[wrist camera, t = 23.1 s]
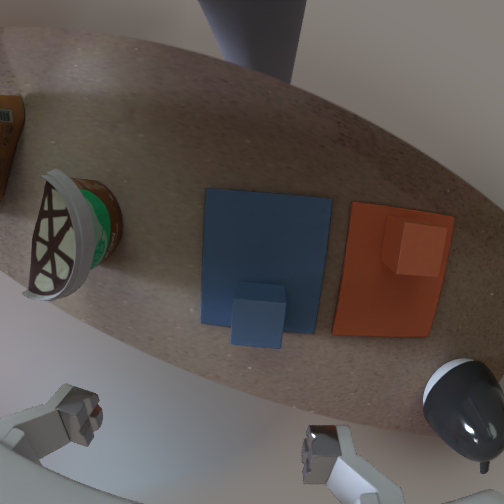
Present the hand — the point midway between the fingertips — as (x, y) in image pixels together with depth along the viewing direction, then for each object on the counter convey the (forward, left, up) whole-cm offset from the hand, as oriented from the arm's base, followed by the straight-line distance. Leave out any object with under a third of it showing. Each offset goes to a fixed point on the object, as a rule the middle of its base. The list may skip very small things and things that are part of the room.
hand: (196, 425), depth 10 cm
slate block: (+4, +2, -22) cm, 22 cm away
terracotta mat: (0, +16, -22) cm, 27 cm away
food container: (-2, -15, -22) cm, 27 cm away
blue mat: (0, +2, -22) cm, 22 cm away
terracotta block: (-4, +16, -22) cm, 27 cm away
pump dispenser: (+14, +28, -22) cm, 38 cm away
